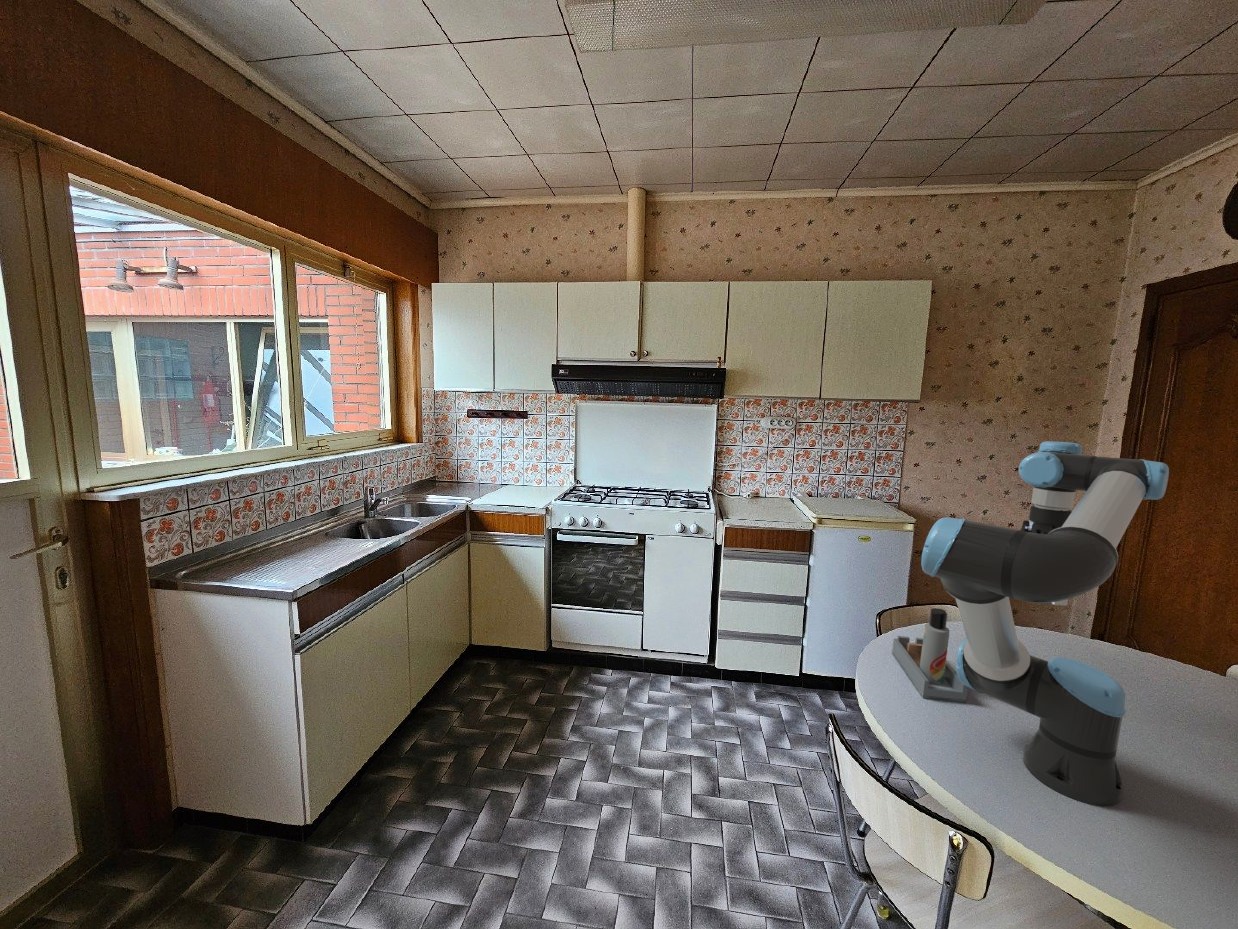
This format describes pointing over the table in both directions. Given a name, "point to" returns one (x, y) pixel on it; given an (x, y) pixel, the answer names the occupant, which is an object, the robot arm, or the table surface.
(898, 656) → the tray
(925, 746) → the table surface
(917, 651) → the pusher
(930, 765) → the table surface
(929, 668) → the lotion bottle
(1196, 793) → the table surface
